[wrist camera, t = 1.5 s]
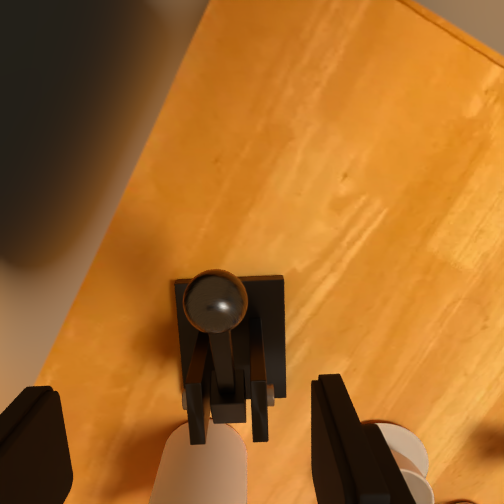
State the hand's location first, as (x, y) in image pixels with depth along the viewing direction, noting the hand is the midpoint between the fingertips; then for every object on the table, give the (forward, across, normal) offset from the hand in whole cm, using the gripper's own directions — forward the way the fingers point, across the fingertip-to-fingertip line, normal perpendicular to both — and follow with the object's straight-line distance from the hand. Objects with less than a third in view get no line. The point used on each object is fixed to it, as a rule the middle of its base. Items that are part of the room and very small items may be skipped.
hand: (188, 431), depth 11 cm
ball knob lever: (+14, 0, +3) cm, 14 cm away
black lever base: (+24, 0, +9) cm, 25 cm away
